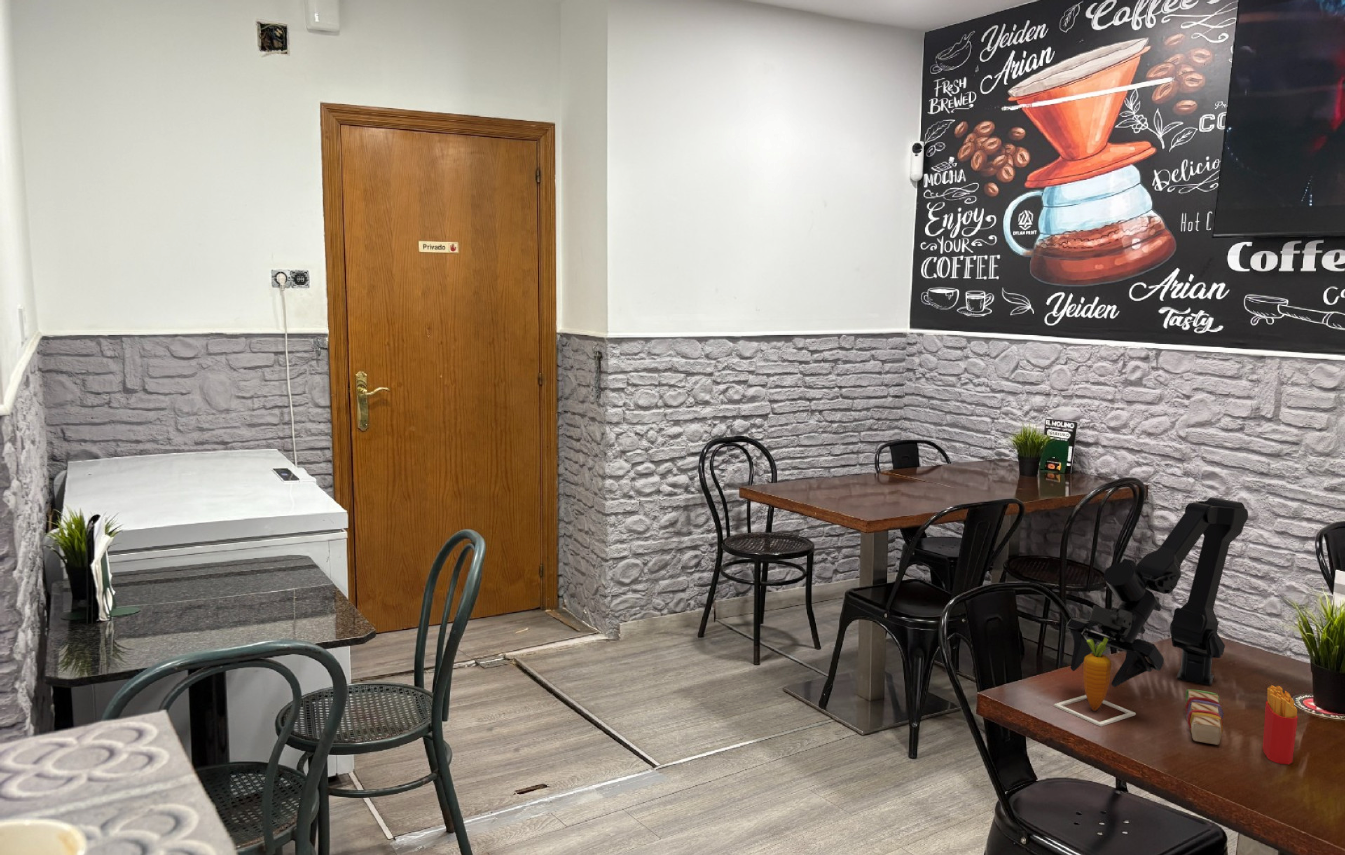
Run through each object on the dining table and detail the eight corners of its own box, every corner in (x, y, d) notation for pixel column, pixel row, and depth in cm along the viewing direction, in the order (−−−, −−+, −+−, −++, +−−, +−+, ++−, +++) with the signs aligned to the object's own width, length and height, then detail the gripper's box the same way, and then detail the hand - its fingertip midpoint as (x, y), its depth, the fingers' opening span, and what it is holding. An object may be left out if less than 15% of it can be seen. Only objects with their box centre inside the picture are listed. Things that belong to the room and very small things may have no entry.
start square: (1088, 695, 197) (1088, 693, 197) (1135, 715, 188) (1135, 713, 188) (1053, 706, 192) (1054, 704, 192) (1100, 726, 183) (1100, 724, 183)
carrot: (1079, 712, 189) (1084, 639, 187) (1081, 703, 193) (1086, 631, 191) (1107, 718, 187) (1112, 643, 185) (1108, 708, 191) (1113, 636, 189)
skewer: (1226, 750, 174) (1228, 724, 173) (1186, 743, 177) (1188, 717, 176) (1219, 707, 192) (1221, 683, 192) (1182, 701, 195) (1184, 678, 195)
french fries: (1296, 767, 167) (1302, 702, 166) (1270, 764, 168) (1276, 699, 167) (1282, 746, 175) (1288, 683, 174) (1257, 743, 176) (1263, 680, 175)
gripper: (1074, 579, 197) (1034, 640, 193) (1159, 604, 181) (1117, 671, 177) (1097, 610, 202) (1058, 670, 198) (1181, 637, 186) (1141, 703, 182)
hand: (1091, 677), depth 188 cm, fingers open, 9 cm apart
